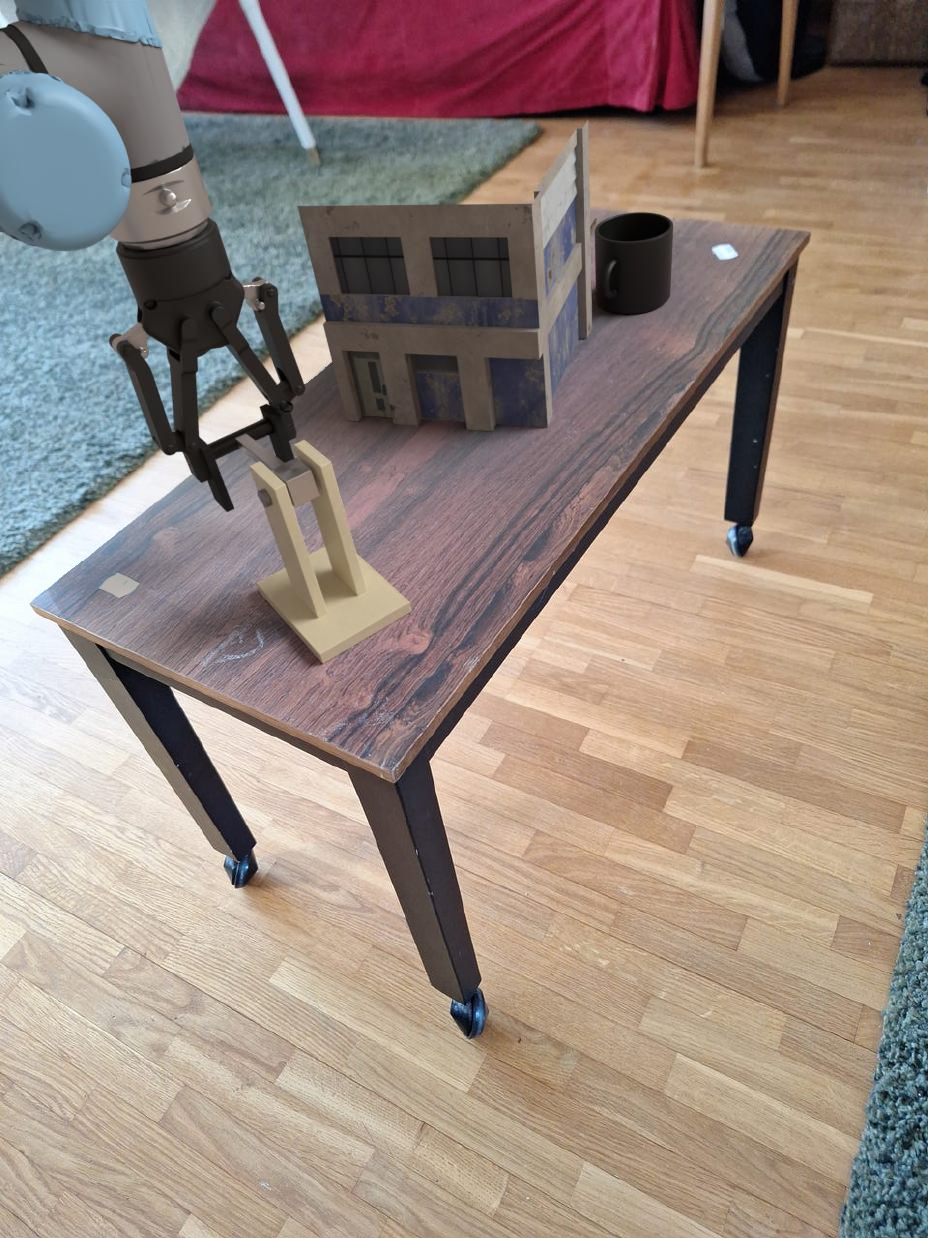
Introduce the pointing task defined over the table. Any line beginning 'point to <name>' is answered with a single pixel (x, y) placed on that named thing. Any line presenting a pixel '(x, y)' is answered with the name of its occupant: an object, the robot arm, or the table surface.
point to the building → (457, 300)
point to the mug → (633, 262)
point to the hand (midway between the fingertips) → (257, 487)
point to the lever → (269, 460)
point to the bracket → (323, 567)
